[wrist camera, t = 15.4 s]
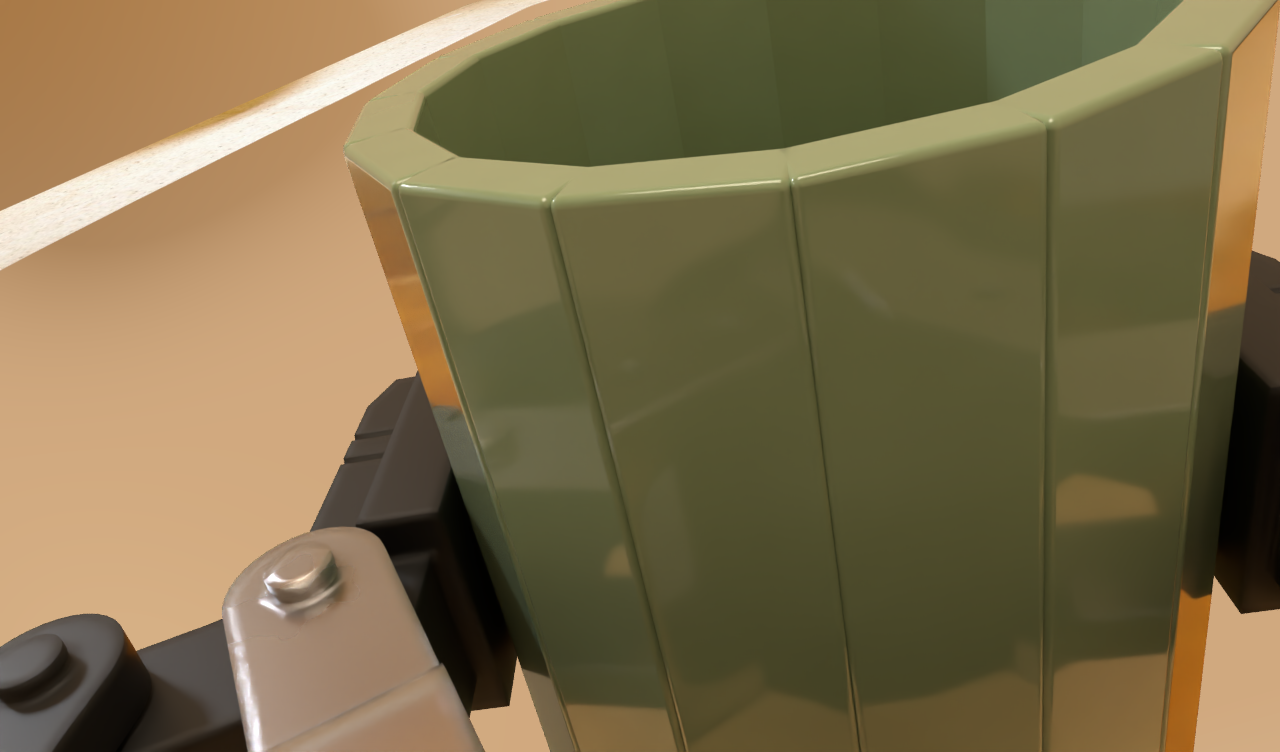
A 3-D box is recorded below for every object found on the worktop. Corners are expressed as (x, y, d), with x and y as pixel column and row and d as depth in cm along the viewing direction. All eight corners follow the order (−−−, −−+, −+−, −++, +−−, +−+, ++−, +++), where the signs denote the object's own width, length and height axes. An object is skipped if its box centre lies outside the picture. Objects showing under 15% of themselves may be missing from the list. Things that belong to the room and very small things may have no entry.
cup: (831, 1343, 9) (576, 320, 4) (542, 827, 14) (270, 96, 9) (1295, 931, 11) (1513, -72, 6) (898, 614, 16) (837, -74, 11)
